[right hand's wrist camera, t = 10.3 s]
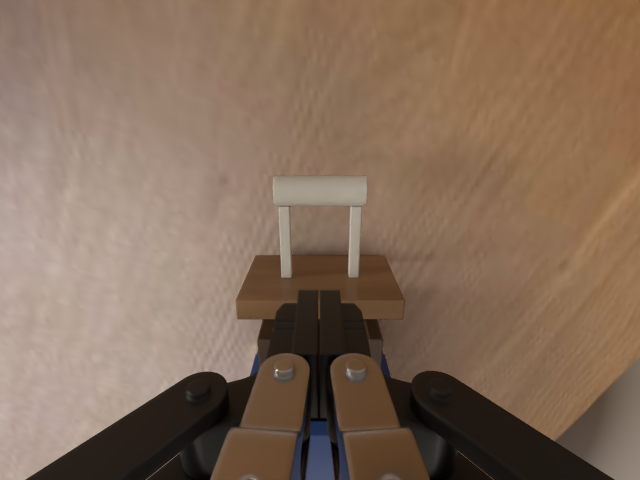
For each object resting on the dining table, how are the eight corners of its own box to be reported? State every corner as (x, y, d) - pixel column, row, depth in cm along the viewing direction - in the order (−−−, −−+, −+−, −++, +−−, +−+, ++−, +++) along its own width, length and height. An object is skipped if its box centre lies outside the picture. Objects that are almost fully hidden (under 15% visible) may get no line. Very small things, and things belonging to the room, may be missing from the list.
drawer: (249, 167, 21) (223, 186, 16) (391, 167, 21) (416, 186, 16) (269, 449, 30) (258, 527, 24) (370, 449, 30) (382, 527, 24)
